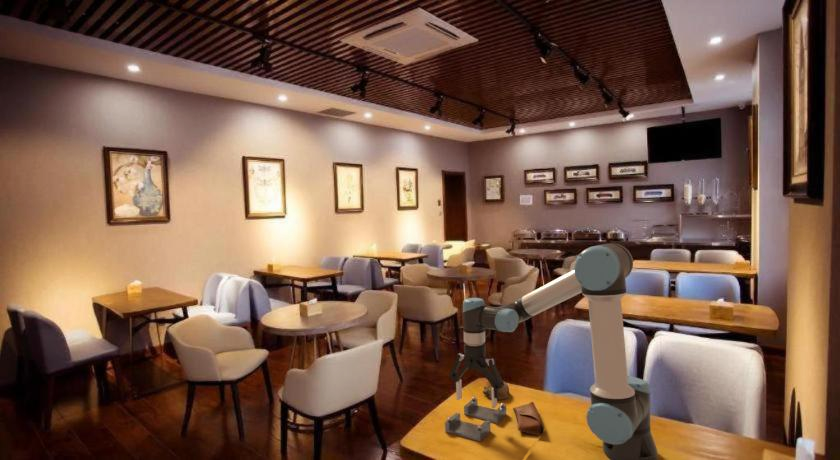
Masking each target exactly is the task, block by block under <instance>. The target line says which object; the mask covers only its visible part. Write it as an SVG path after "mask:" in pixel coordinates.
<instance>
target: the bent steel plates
mask: <svg viewBox="0 0 840 460" xmlns="http://www.w3.org/2000/svg"><path fill="white" fill-rule="evenodd" d="M463 411H464V415H465V416H469V417H472V418H476V419H477V420H478V419H479V420H482V421H483V422H482V423H481V424H474V423H471V422H467V421H463V420H461V413H459V412H455V413H454V414H453V415H452V416H448V417H447V418H446V421H445V422H444V425H445V426H444V427H445V431H444V432H445V433H448V434H451V435H455V436H457V437H462V438H465V439H468V440H472V441H476V442H478V443H482V441H483V440H484V439H485V438H486V437H487V435H489V433H491V423H493V424H499V423H500V422H501V421H502V420H503V418H504V417H505V416H506V415H507V405H506V404H505V403H504V402H501V403H500V405H499V407H498V408H497V409H495V408H492V407H491V408H490V407H487V406H482V405H478V398H476V396H472V397H471V400H469V402H467V403H466V404H464V406H463Z"/></svg>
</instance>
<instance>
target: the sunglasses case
mask: <svg viewBox="0 0 840 460" xmlns="http://www.w3.org/2000/svg"><path fill="white" fill-rule="evenodd" d="M512 410H513V412H514V414H515V418H516V422H517V430H518V431H519V432H522V433H525V434H530V435H536V436H540V435H543V433H544V432H545V430H544V429H545V428H544V426H543V423H542V420H541V417H540V414H539V411H538V409H537V407H536V405H535V402H534V401H531V402H529V403H526V404H522V405H520V406H515V407H512Z"/></svg>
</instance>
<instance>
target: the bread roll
mask: <svg viewBox="0 0 840 460" xmlns="http://www.w3.org/2000/svg"><path fill="white" fill-rule="evenodd" d="M503 382H504V386H503V387H502V388H501V389H500V388H499V397H498V398H497V400H506V399H509V398H510V388H509V386H508V384H507V382H505V381H503ZM492 388H493V387H492V385H491V384H490V383H489V381H487V383H486V384H485V385H483V391H482V393H483V394H484V395H485V397H487V398H489V399H490V400H492V395H491V389H492Z"/></svg>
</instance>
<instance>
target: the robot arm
mask: <svg viewBox="0 0 840 460" xmlns="http://www.w3.org/2000/svg"><path fill="white" fill-rule="evenodd" d="M633 268H634V259H633V256H632V254H631V252H630V251H629V250H628V248H626V247H625V246H623V245H621V244H619V243H615V242H614V243H613V242H609V243H603V244H598V245H592V246H590V247H587V248H586V249H584V250H583V251H582V252H580V253H579V254H578V256H577V258H576V259H575V262H574V265H573V269H571V270H569V271H567V272H566V273H564V274H562V275H561V276H559V277H557V278H555V279H553V280H552V281H549V282H547V283H546V284H543V285H542V286H540V287H539V288H536V289H535V290H533V291H530V292H529V293H527V294H525V295H523V296H521V297H519V298H518V299H515V300H513V301H512V302H509V303H506V304H503V305H499V306H488V305H486V303H485V300H484V299H483V298H480V297H469V298H466V299H463V302H462V311H461V312H462V319H463V321H462V322H463V342H464V344H463V352H464V354H463V353H462V352H460V353H457V354H456V355H455V356H456V357H455V362H454V365H453V366H452V369H451V371H450V373H449V375H448V379H450V380H453V385H454V386H453V388H454V390H455V392H456V400H457V401H460V400H461V399H462V398H463V390H462V389H463V387H462V385H463V383H462V381H463V380H462V379H461V377H463V375H465V373H466V371H467V370H468V369H469V370H475V371H479V372H481V374H483V376H484V377H485V378H486V380H487V382H489V383H490V384H491V385H492V387H493V388H492V389H491V395H492V399H491V409H495V408H496V407H497V406H498V399H497V398H498V397H499V388H500V389H501V388H502V387H503V386H504V382H505V381H504V382H503V378H502V377H501V374H500V372H499V370H498V367H497V365H496V359H495V358H493V357H491V358H487V355H486V354H487V351H486V350H487V347H486V346H487V345H486V343H485V342H486V329H488V330H493V331H498V332H502V333H514V332H515V330H516V329H517V328H518V326H519V324H520V323H522V322H525V321H527V320H529V319H530V318H533V317H534V316H536V315H538V314H541V313H542V312H544V311H546V310H548V309H550V308H553V307H555V306H557V305H559V304H561V303H563V302H565V301H567V300H569V299H571V298H573V297H575V296H578V295H580V294H582V296H584V298H586V299H587V301H588V303H587V304H588V313H589V315H588V316H589V326H590V339H591V348H592V349H591V350H592V361H593V371H594V372H593V376H594V382H593V384H592V385H591V386H590V388H589V392H590V393H589V394H590V406H589V407H588V409H587V412H586V417H585V418H586V424H587V427H588V428H589V430H590V431H591V432H592V433H593V434H594V436H596V438H598V439H599V440H601V441H602V450H603V453H604V454H605V455H606V456H607V457H608V458H610V459H611V460H658V458H659V457H658V447H657V445H656V442H655V440H654V437H653V435H652V430H651V429H652V428H651V388H650V384H649V383H648V382H647V380H645V379H642V378H640V377H635V376H628V366H627V353H626V352H627V351H626V344H625V343H626V342H625V330H624V317H623V307H622V298H624V296H626V294H627V284H626V283H627V281H626V279H627V277H629V276H630V275H631V273H632V271H633ZM463 360H464V362H465V364H464V366H463V367H462V368H461V369H460V370H459V368H460V365H461V363H462V362H463ZM486 364H487V365H486ZM488 366H489V367H488ZM458 370H459V371H458Z"/></svg>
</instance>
